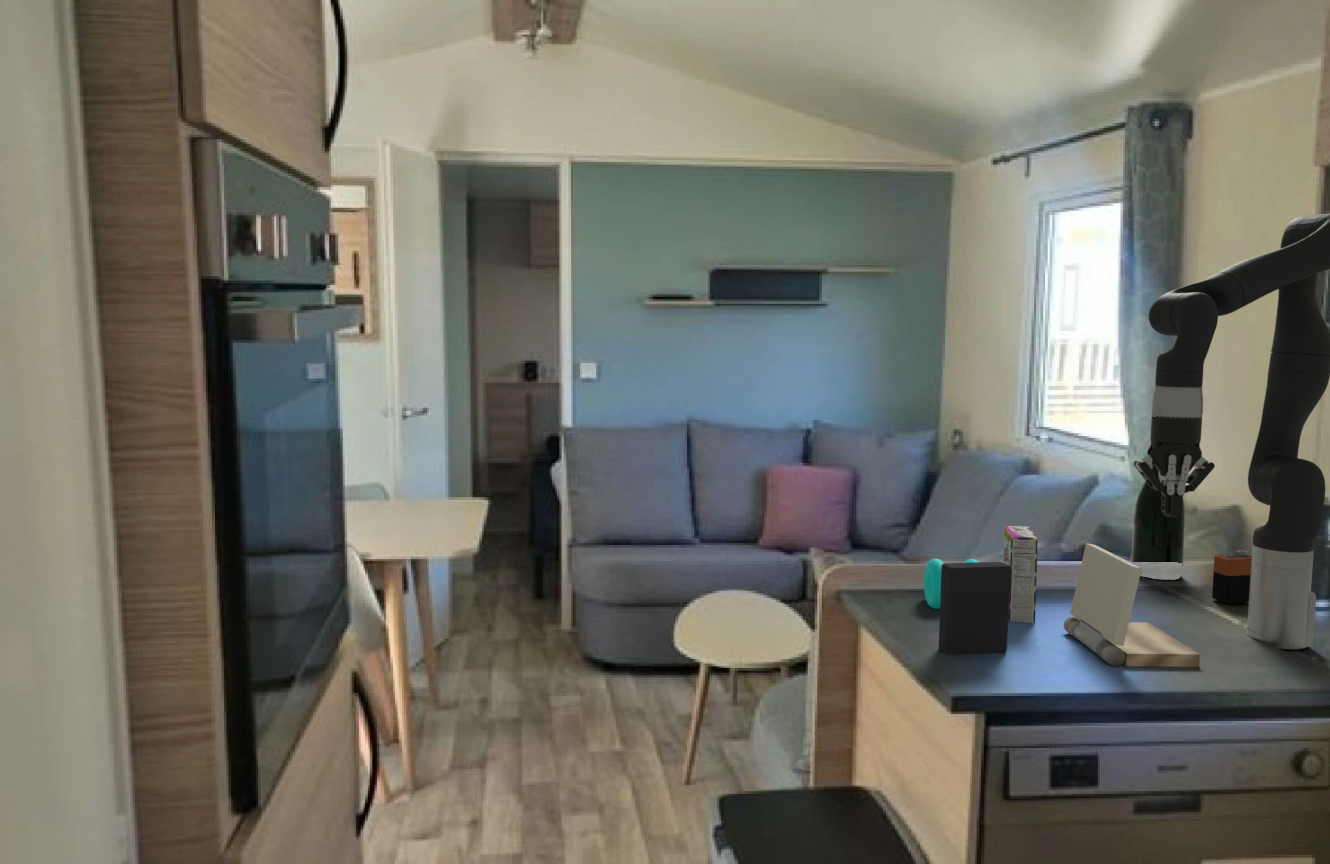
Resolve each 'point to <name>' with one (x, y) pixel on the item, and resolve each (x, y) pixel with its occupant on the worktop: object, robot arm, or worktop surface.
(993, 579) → the calculator
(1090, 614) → the hinge leaf
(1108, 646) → the fixed leaf
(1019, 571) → the candy bar box
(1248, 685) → the worktop surface
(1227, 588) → the battery
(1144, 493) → the wine bottle
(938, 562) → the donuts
